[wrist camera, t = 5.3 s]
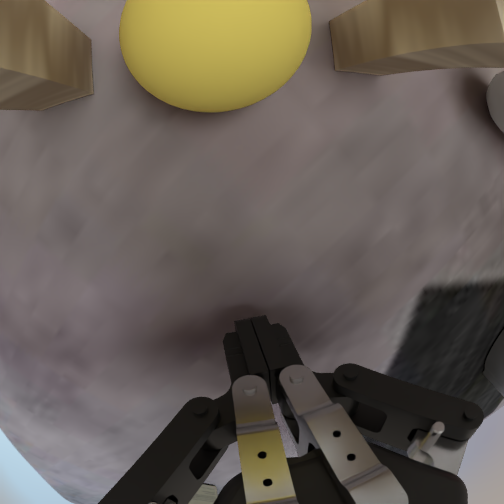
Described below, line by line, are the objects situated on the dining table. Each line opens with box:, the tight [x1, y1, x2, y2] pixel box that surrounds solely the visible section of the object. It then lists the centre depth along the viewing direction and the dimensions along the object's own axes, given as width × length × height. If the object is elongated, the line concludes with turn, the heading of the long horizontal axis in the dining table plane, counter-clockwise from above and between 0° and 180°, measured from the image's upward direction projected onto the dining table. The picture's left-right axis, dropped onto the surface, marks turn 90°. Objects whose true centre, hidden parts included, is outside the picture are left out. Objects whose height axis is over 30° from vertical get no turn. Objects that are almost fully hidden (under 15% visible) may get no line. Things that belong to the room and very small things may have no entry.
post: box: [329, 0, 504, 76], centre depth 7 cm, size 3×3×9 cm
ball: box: [119, 0, 311, 112], centre depth 7 cm, size 6×6×6 cm
